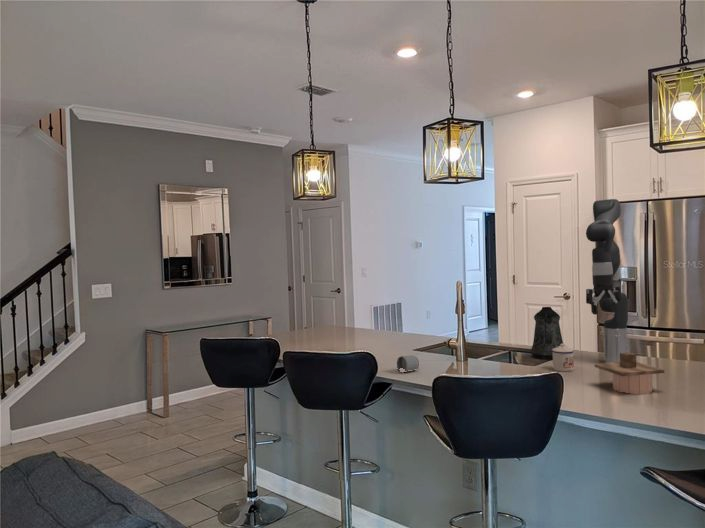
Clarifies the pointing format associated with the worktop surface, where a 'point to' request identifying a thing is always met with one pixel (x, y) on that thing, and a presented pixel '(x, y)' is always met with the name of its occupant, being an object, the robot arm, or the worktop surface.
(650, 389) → the bowl
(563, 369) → the teacup with lid
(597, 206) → the robot arm
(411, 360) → the ceramic mug
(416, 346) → the worktop surface
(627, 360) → the lid
